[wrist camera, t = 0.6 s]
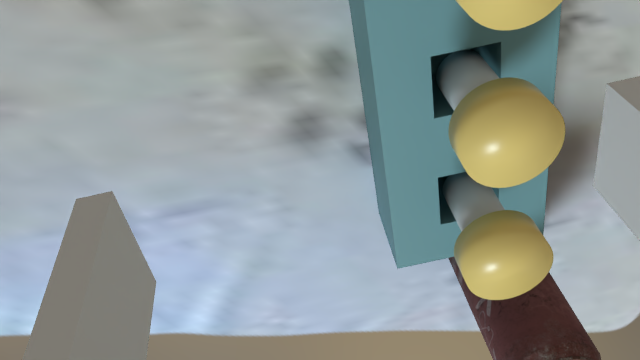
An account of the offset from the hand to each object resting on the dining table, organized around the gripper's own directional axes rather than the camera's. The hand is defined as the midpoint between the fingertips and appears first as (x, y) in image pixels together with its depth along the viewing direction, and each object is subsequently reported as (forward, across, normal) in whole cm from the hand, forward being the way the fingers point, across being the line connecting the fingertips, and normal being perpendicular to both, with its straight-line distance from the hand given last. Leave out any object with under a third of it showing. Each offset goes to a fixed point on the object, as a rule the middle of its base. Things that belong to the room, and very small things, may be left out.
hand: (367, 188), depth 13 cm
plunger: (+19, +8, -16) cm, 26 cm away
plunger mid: (+19, +8, -8) cm, 22 cm away
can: (+24, +11, -26) cm, 37 cm away
